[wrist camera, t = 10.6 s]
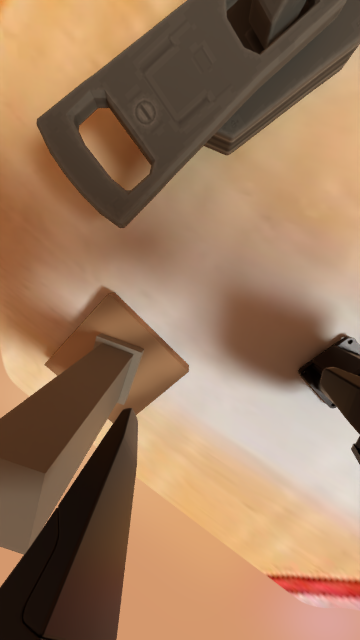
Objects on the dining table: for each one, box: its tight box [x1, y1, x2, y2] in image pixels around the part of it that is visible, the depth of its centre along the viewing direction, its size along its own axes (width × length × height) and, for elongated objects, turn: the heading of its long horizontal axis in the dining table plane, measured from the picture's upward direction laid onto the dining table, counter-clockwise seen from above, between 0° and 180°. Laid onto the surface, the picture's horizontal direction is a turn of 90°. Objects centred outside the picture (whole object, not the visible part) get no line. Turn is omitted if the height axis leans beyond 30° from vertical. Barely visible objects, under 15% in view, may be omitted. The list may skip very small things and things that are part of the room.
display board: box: [44, 292, 189, 423], centre depth 21 cm, size 12×12×2 cm
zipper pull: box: [37, 0, 360, 228], centre depth 12 cm, size 9×7×25 cm
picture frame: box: [0, 333, 144, 554], centre depth 14 cm, size 5×7×12 cm
